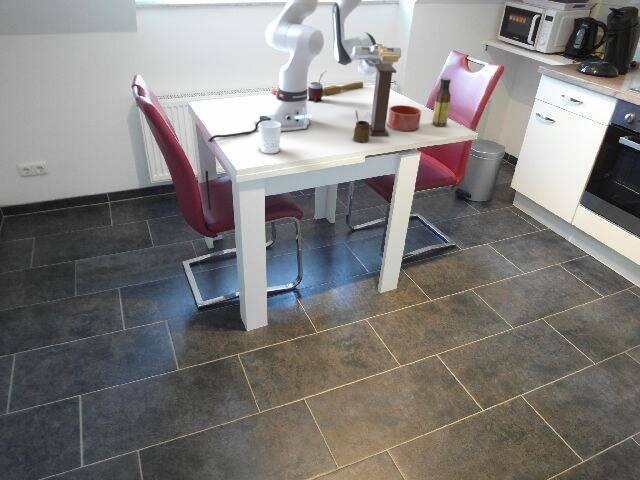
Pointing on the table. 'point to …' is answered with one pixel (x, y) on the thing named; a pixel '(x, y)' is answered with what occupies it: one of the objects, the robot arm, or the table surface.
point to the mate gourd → (315, 90)
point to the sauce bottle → (442, 103)
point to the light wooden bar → (386, 54)
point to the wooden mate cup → (361, 130)
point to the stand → (381, 99)
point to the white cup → (269, 136)
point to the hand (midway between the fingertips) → (380, 46)
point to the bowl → (404, 118)
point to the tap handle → (341, 88)
